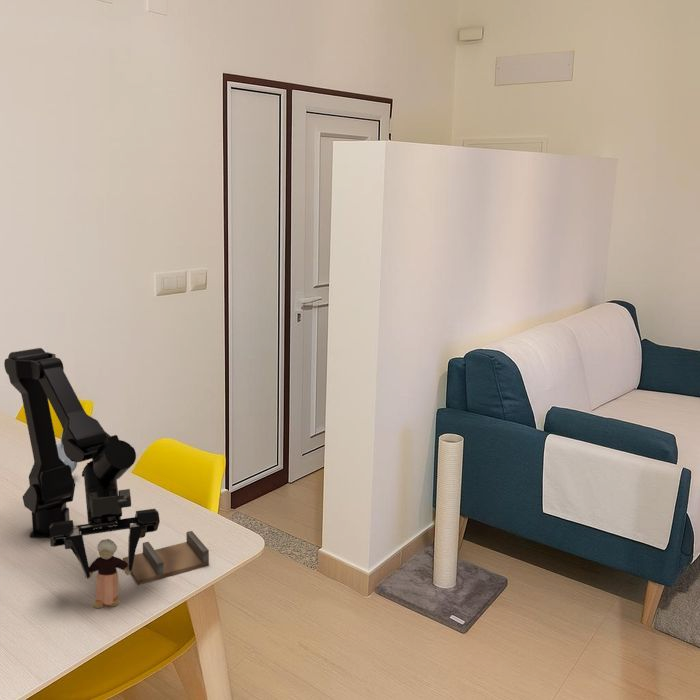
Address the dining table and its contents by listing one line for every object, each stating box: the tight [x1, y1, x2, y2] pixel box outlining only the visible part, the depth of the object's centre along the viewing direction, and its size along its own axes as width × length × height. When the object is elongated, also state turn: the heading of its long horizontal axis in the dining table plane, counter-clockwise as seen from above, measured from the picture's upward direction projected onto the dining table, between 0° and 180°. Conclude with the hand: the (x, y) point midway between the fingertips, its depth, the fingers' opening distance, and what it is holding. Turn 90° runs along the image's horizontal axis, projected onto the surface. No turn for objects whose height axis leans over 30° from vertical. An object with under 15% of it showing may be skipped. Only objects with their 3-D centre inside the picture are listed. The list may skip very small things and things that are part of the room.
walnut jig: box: [122, 530, 210, 585], centre depth 145 cm, size 14×10×3 cm
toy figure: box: [56, 434, 78, 473], centre depth 178 cm, size 11×6×12 cm, turn 19°
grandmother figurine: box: [84, 538, 131, 609], centre depth 130 cm, size 8×4×13 cm, turn 113°
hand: (109, 574), depth 129 cm, fingers closed on grandmother figurine, 7 cm apart
